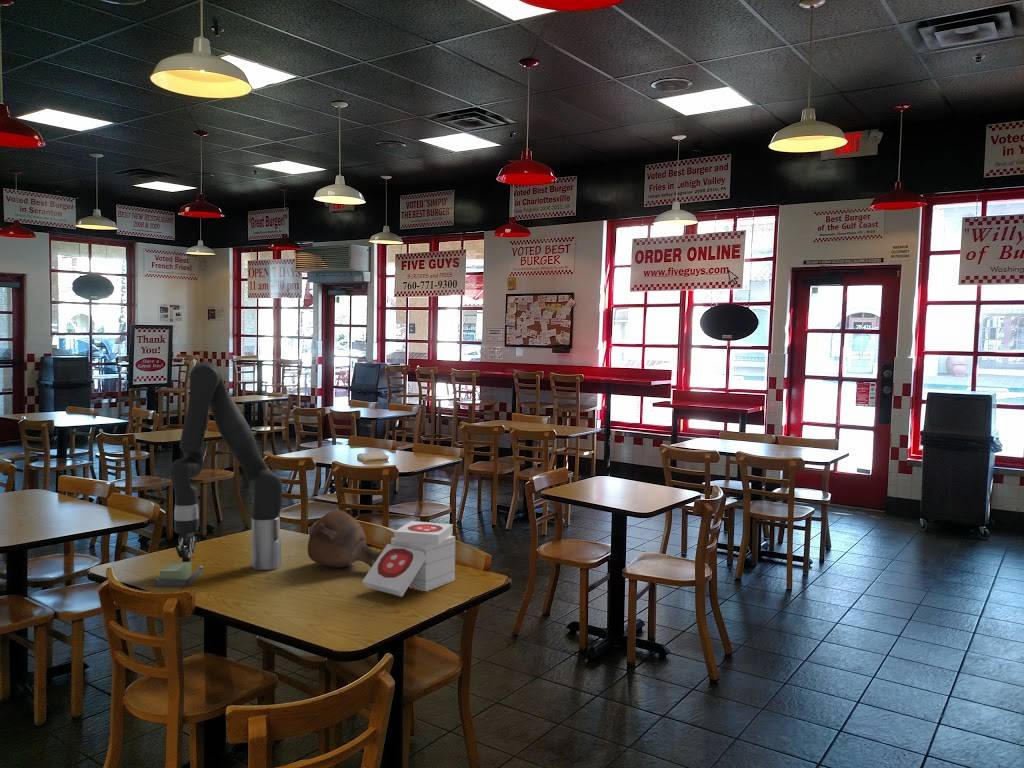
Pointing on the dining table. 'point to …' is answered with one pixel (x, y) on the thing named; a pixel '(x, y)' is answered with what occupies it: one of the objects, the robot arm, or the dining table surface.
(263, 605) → the dining table surface
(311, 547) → the jug
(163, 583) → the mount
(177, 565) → the pale green block
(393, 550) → the pizza boxes
